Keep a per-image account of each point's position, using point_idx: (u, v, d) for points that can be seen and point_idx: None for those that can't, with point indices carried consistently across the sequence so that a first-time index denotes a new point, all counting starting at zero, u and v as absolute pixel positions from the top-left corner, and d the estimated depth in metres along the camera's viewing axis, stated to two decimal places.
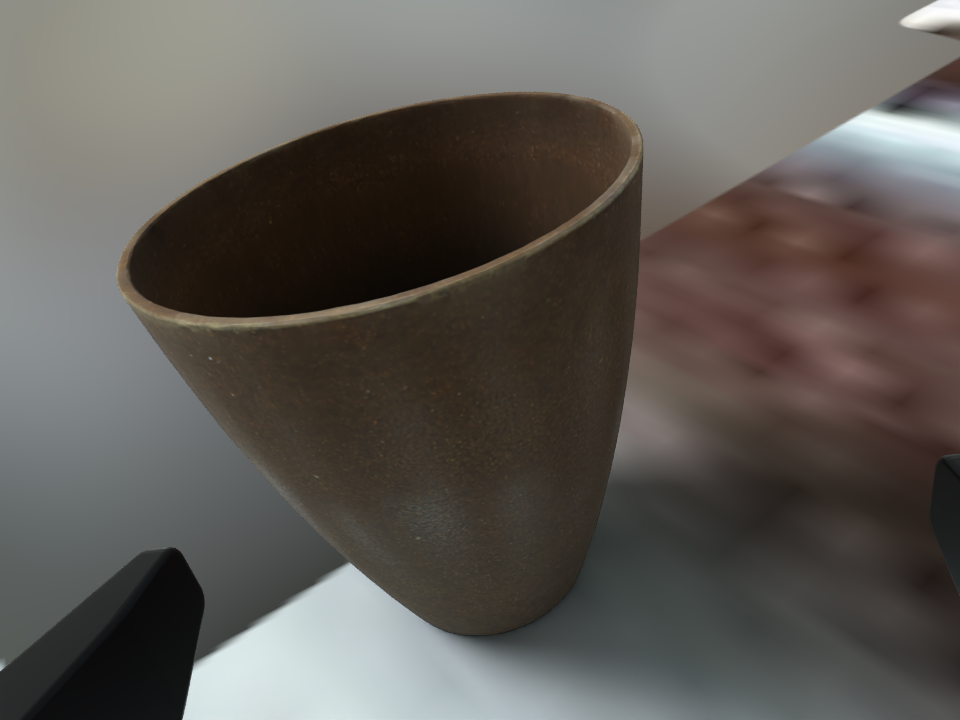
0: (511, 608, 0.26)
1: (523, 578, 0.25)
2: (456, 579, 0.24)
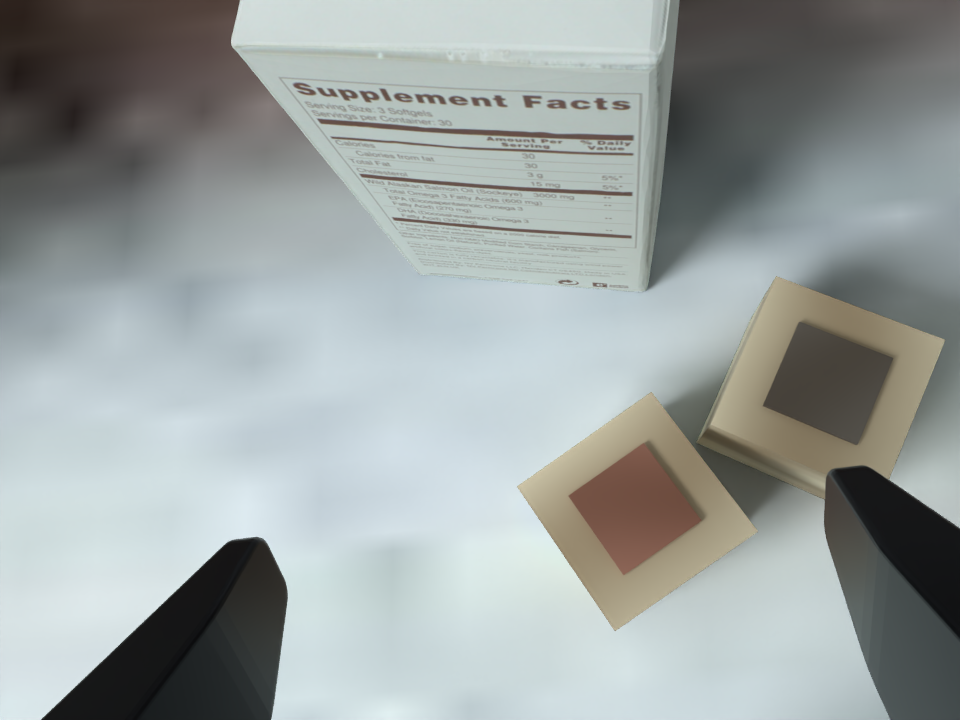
0: None
1: None
2: None
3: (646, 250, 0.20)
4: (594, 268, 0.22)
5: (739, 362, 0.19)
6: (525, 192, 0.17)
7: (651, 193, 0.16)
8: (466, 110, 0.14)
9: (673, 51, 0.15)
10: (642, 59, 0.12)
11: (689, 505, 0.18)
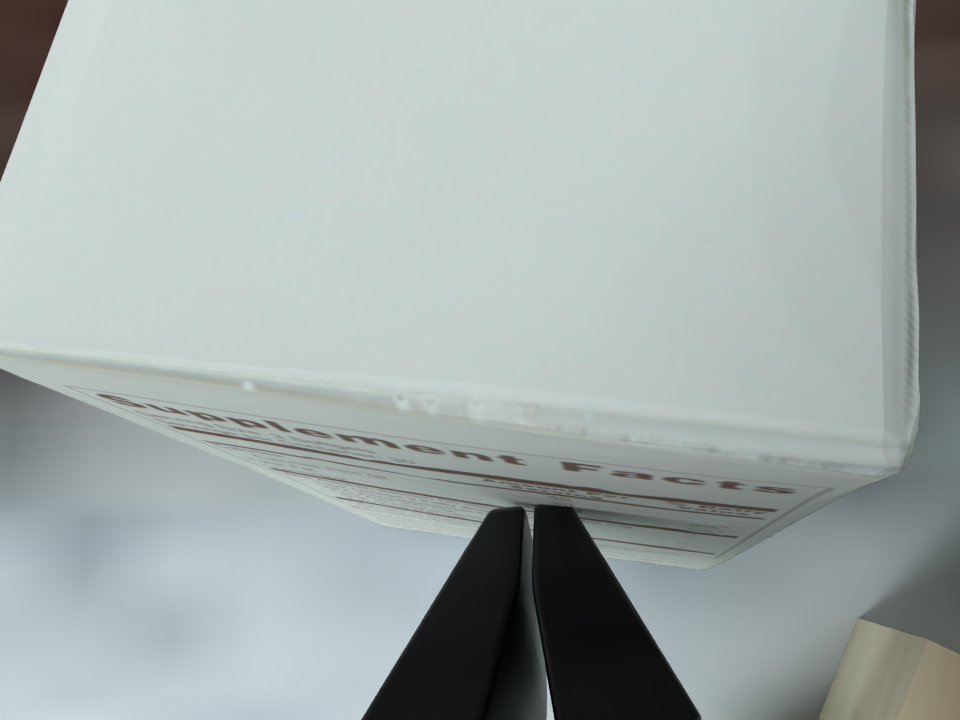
0: None
1: None
2: None
3: None
4: (642, 557, 0.14)
5: None
6: None
7: (770, 535, 0.09)
8: (440, 459, 0.07)
9: None
10: (868, 453, 0.05)
11: None
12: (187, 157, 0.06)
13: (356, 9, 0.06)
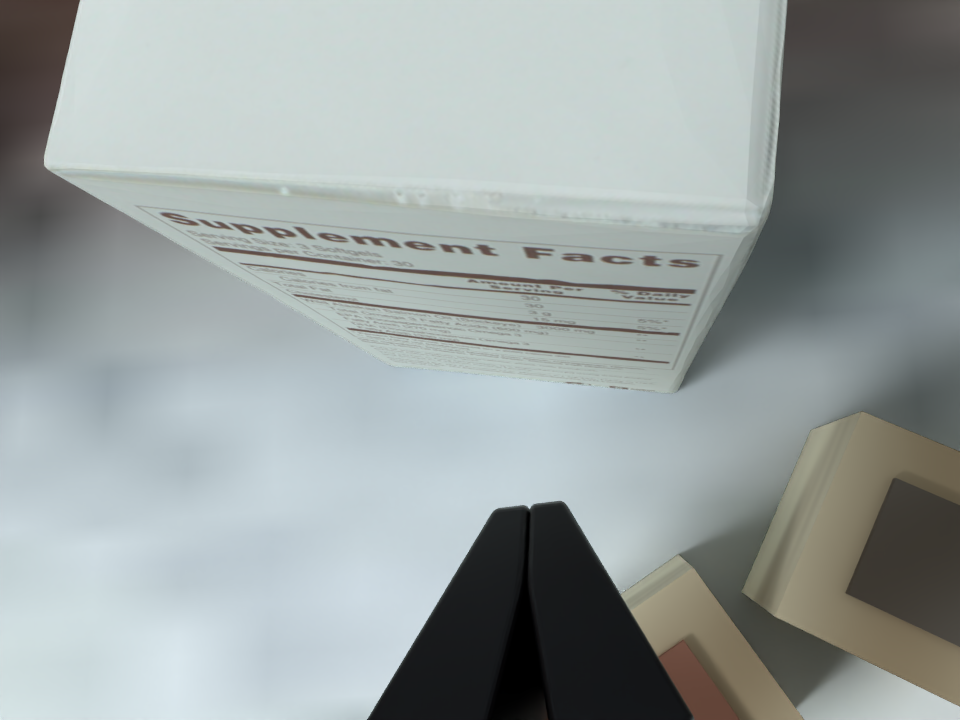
0: None
1: None
2: None
3: (686, 370, 0.15)
4: (614, 378, 0.17)
5: (812, 530, 0.14)
6: (525, 323, 0.12)
7: (706, 332, 0.11)
8: (433, 256, 0.09)
9: None
10: (735, 217, 0.07)
11: None
12: (222, 12, 0.08)
13: None
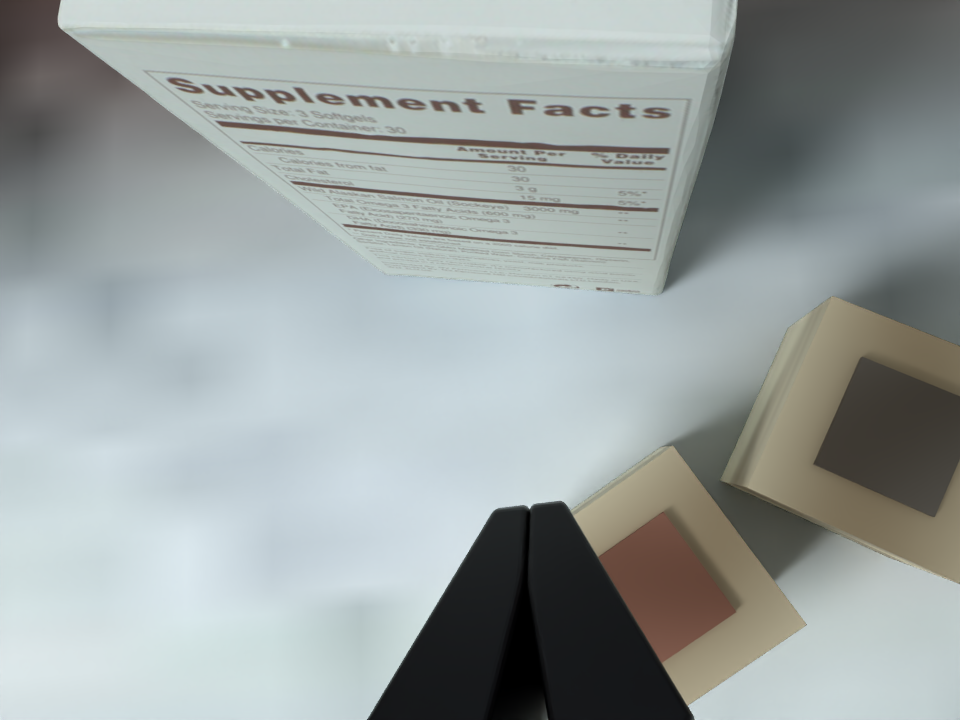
0: None
1: None
2: None
3: (667, 261, 0.16)
4: (600, 275, 0.17)
5: (784, 407, 0.15)
6: (512, 205, 0.13)
7: (683, 208, 0.12)
8: (424, 116, 0.09)
9: None
10: (697, 53, 0.07)
11: (721, 591, 0.15)
12: None
13: None
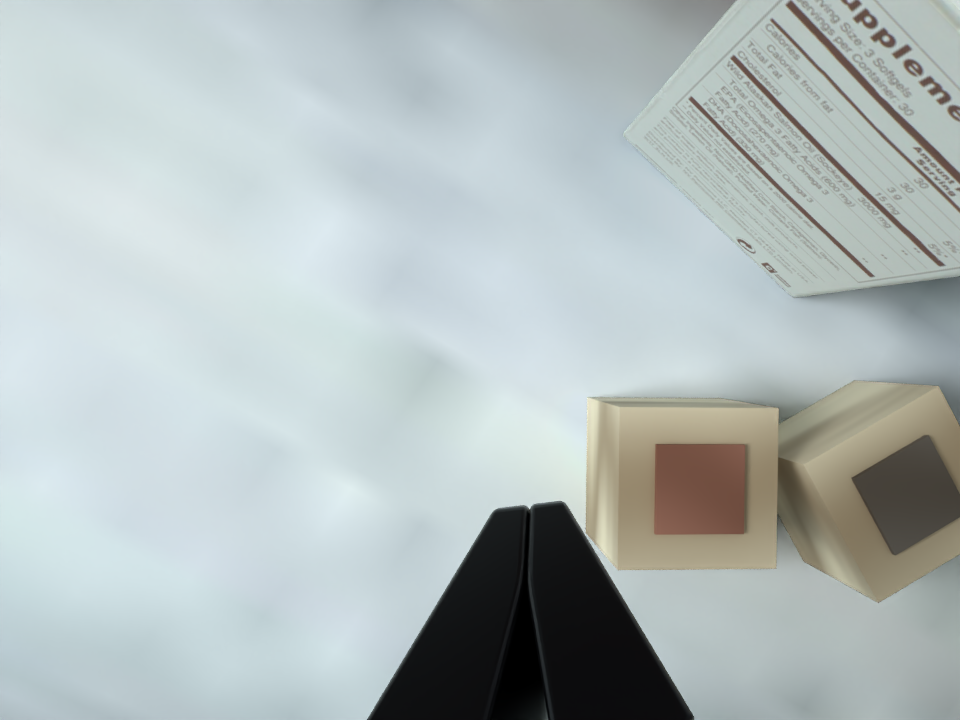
0: None
1: None
2: None
3: (860, 288, 0.20)
4: (792, 260, 0.21)
5: (859, 432, 0.20)
6: (858, 191, 0.16)
7: (955, 276, 0.16)
8: (946, 122, 0.13)
9: None
10: None
11: (743, 516, 0.19)
12: None
13: None
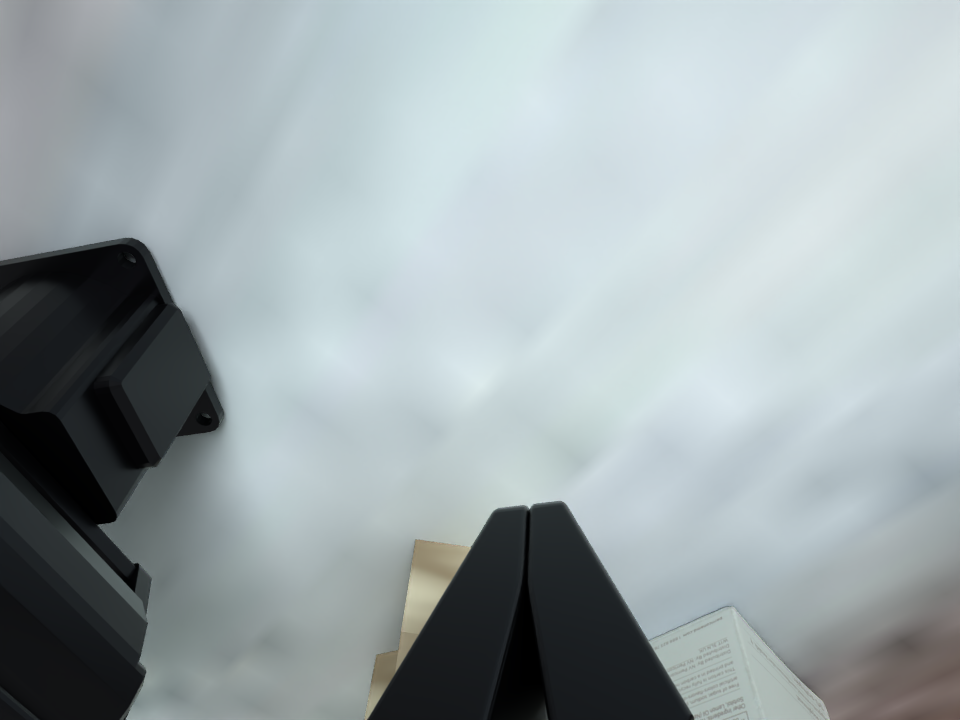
0: None
1: None
2: None
3: None
4: None
5: None
6: None
7: None
8: None
9: None
10: None
11: None
12: None
13: None
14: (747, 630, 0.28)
